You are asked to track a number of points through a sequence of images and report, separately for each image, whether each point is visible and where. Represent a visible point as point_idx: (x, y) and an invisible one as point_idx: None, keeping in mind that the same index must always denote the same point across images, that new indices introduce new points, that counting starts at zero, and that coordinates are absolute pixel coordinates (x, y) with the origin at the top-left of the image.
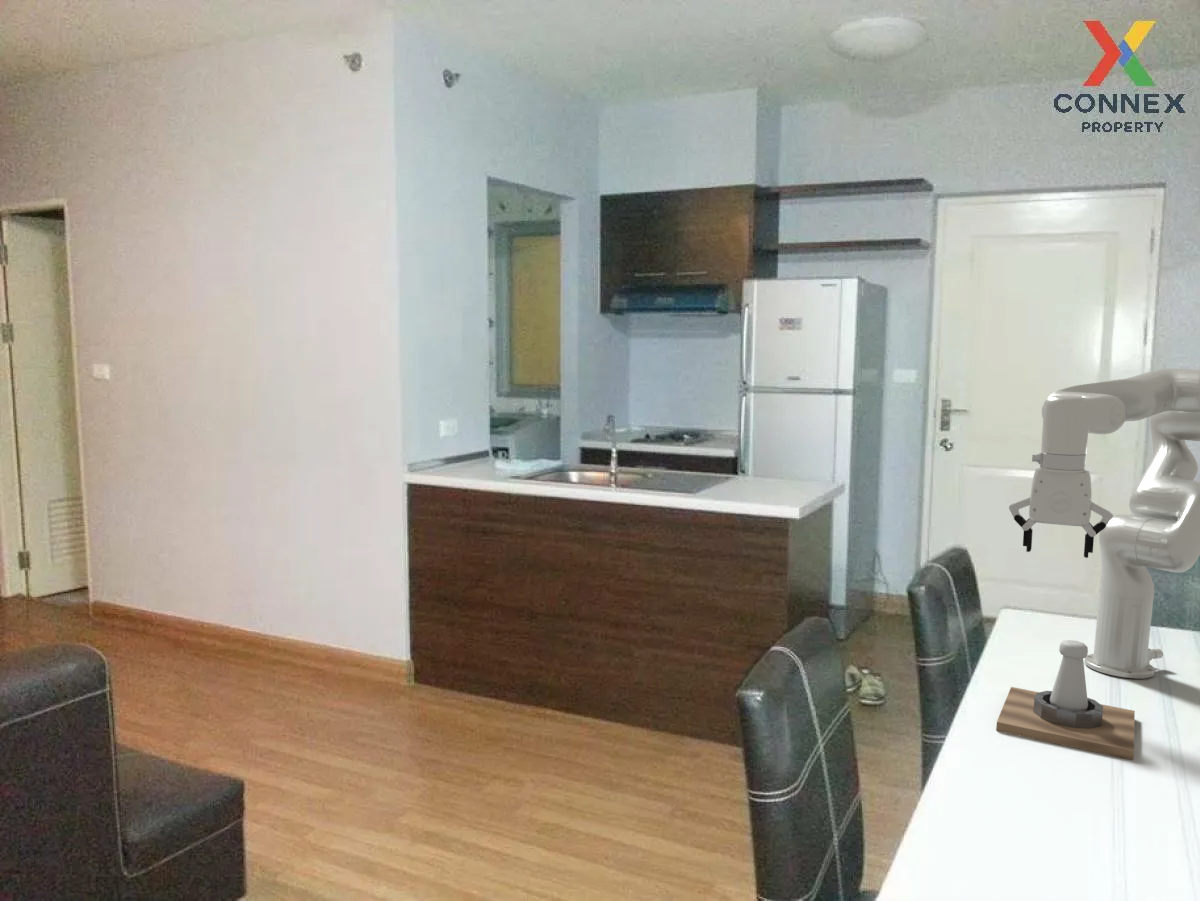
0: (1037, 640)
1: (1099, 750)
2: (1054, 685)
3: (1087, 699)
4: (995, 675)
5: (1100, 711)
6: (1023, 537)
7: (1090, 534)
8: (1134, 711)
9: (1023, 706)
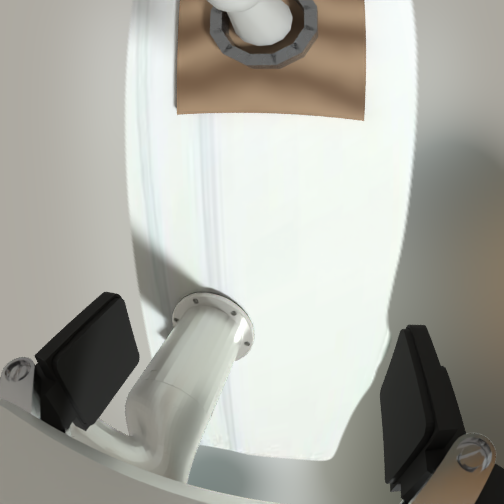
0: (311, 393)
1: None
2: (282, 6)
3: (233, 49)
4: (386, 214)
5: (213, 8)
6: (455, 401)
7: (29, 373)
8: (177, 111)
9: (335, 30)
